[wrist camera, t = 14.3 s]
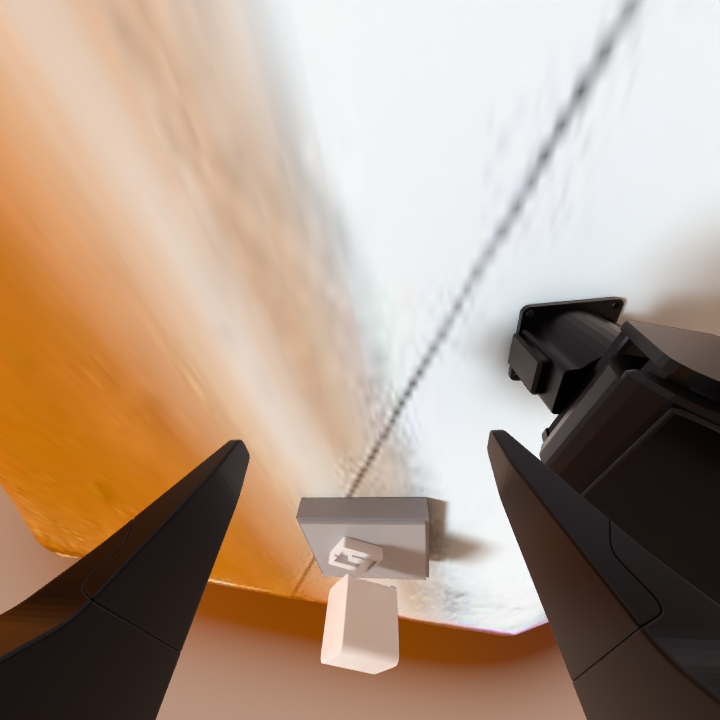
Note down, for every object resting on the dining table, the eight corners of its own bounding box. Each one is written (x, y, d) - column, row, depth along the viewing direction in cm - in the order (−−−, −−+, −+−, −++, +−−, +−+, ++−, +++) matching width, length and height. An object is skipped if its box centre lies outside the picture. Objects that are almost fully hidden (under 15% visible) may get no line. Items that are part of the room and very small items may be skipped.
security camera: (374, 567, 38) (372, 675, 29) (328, 554, 37) (312, 662, 28) (396, 549, 35) (400, 665, 26) (345, 534, 34) (332, 650, 25)
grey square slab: (426, 497, 33) (429, 522, 31) (426, 557, 42) (429, 581, 39) (301, 498, 35) (295, 521, 33) (325, 555, 44) (321, 577, 41)
